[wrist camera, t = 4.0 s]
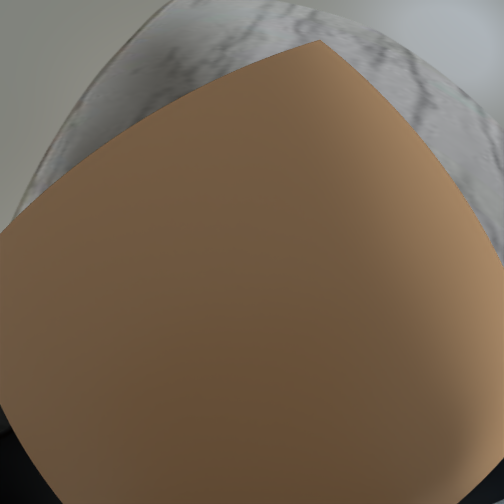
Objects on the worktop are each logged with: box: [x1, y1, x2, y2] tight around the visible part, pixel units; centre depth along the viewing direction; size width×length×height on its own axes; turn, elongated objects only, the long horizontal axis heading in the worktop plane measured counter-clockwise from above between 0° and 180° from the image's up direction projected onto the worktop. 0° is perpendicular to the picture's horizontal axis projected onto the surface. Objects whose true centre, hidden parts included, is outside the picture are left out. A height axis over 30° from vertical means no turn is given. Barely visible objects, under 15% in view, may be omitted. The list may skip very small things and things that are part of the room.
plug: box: [0, 40, 504, 504], centre depth 8 cm, size 5×5×13 cm
